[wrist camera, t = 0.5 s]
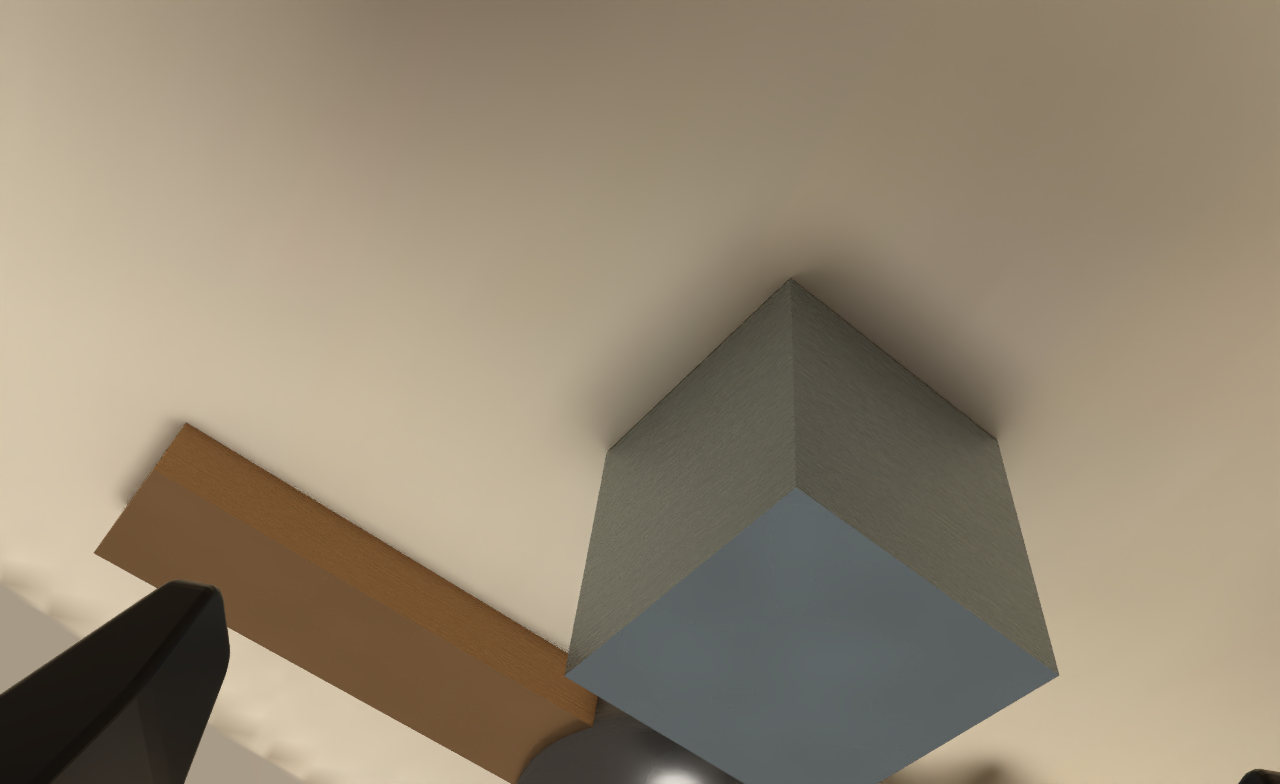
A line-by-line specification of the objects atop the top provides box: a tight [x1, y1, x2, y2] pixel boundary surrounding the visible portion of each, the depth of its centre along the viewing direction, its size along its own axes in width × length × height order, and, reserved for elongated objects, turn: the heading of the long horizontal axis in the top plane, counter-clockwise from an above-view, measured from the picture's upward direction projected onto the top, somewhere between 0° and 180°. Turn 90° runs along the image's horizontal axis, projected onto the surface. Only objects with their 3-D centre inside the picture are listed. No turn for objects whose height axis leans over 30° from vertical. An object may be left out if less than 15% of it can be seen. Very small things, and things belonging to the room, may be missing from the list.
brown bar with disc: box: [94, 423, 744, 784], centre depth 26 cm, size 19×8×5 cm, turn 51°
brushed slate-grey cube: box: [564, 278, 1059, 784], centre depth 21 cm, size 6×6×6 cm
